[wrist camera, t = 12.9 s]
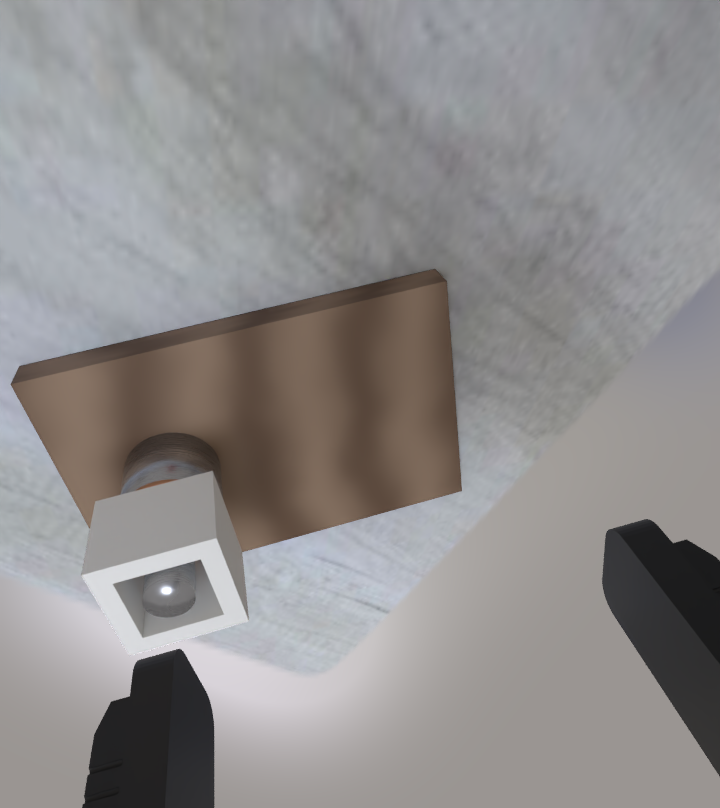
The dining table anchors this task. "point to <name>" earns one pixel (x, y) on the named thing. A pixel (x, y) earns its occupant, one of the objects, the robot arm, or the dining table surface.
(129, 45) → the dining table surface
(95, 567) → the collar
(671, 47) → the dining table surface
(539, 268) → the dining table surface
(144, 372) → the pipe stand
